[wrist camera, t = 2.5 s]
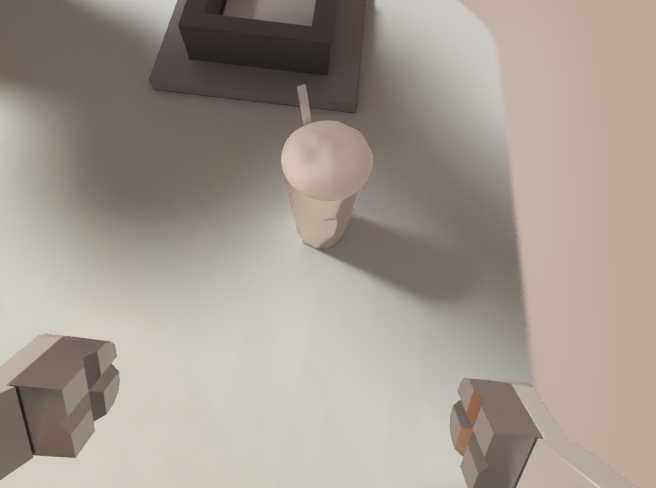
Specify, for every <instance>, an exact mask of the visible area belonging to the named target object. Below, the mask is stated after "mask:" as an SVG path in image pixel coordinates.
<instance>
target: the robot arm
mask: <svg viewBox="0 0 656 488" xmlns="http://www.w3.org/2000/svg"><path fill="white" fill-rule="evenodd" d="M116 357H117V354H116V348H115V344H113V343H112V342H110V341H103V340H95V339H87V338H79V337H71V336H60V335H52V334H43V335H39V336H37V337H36V338H35V339H34V340H32V341H31V342H30V343H29V344H27V345H26V346H25V347H24V348H23V349H21V350H20V351H19V352H18V353H17V354H15V355H14V356H13V357H12V358H10V359H9V360H8V361H7V362H6V363H4V364H3V365H2V366H1V367H0V480H1V479H3V478H4V477H5V476H7V475H8V474H10V473H11V472H13V471H14V470H16V469H17V468H19V467H20V466H21V465H23V464H24V463H26V462H27V461H29V460H30V459H32V458H33V455H39V456H54V457H70V458H76V457H77V455H78V454H79V452H80V451H81V450H82V448H83V447H84V445H85V444H86V443H87V441H88V440H89V438H90V437H91V436H92V434H93V433H94V431H95V429H94V421H96V420H97V419H99V418H101V417H103V416H104V415H106V414H107V413H108V411H109V410H110V408H111V407H112V405H113V404H114V401H115V399H116V396H117V393H118V391H119V382H120V378H119V371H118V370H117V369H116V368H115V367H114V366H113V365H112V364H111V363H112V362H113V361H114V359H115V358H116ZM458 393H459V396H460V398H461V400H460V401H458V402H457V403H456V404H454V405H453V408H452V412H451V415H450V433H451V439H452V442H453V445H454V448H455V449H456V450H457V451H458V452H459V453H460V454H461V455H462V456H463V460H462V463H461V466H460V467H461V470H462V473H463V476H464V478H465V481H466V484H467V487H468V488H639V487H637V486H636V485H635V484H633V483H632V482H631V481H629V480H628V479H627V478H625V477H624V476H622V475H621V474H620V473H618V472H617V471H615V470H614V469H613V468H611V467H610V466H609V465H607V464H606V463H604V462H603V461H602V460H600V459H599V458H598V457H596V456H595V455H593V454H592V453H591V452H589V451H588V450H586V449H585V448H584V447H582V446H581V445H580V444H578V443H577V442H570V441H569V440H568V438H567V437H566V436H565V434H564V432H563V431H562V429H561V428H560V426H559V425H558V423H557V422H556V420H555V419H554V418H553V416H552V414H551V413H550V411H549V410H548V408H547V407H546V406H545V404H544V402H543V401H542V399H541V398H540V396H539V395H538V393H537V392H536V390H535V389H534V387H533V386H531V385H530V384H528V383H519V382H501V381H491V380H480V379H470V378H464V379H463V380H462V381H461V382H460V385H459V388H458Z"/></svg>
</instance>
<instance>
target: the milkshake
mask: <svg viewBox="0 0 656 488" xmlns="http://www.w3.org/2000/svg"><path fill="white" fill-rule="evenodd" d="M297 91H298V97H299V103H300V108H301V114H302V119H303V125H304V126H302V127H300V128H299V129H297V130H296V131H294V132H293V133H292V134H291V135H290V136H289V137H288V139H287V141H286V142H285V145H284V147H283V150H282V155H281V164H282V169H283V173H284V177H285V180H286V184H287V188H288V192H289V196H290V201H291V206H292V210H293V215H294V220H295V225H296V229H297V231H298V233H299V235H300V237H301V239H302V241H303V242H304V243H306V244H308V245H310V246H312V247H314V248H324V247H331V246H332V245H333V244H334V243H336V242H337V241H338V240H339V239H340V238H341V237H342V235H343V233H344V230H345V228H346V226H347V223H348V221H349V219H350V216H351V214H352V212H353V209H354V207H355V205H356V203H357V200H358V198H359V196H360V194H361V192H362V190H363V188H364V186H365V184H366V182H367V180H368V178H369V176H370V174H371V171H372V167H373V155H372V152H371V149H370V147H369V145H368V143H367V141H366V140H365V138H364V136H363V135H362V134H361V133H360V132H359V131H358V130H356V129H354V128H352V127H350V126H347V125H345V124H343V123H341V122H338V121H334V120H324V121H317V122H312V120H311V113H310V107H309V101H308V95H307V89H306V85H305V84H303V85H300V86H298V87H297Z"/></svg>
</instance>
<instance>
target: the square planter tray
mask: <svg viewBox="0 0 656 488" xmlns="http://www.w3.org/2000/svg"><path fill="white" fill-rule="evenodd" d="M364 5H365V0H178V1H177V4H176V6H175V9H174V12H173V15H172V17H171V20H170V23H169V26H168V28H167V31H166V34H165V37H164V40H163V42H162V45H161V48H160V51H159V53H158V56H157V59H156V62H155V64H154V67H153V70H152V73H151V76H150V78H149V80H150V83H151V85H152V87H153V89H154V90H163V91H172V92H180V93H189V94H197V95H206V96H215V97H223V98H232V99H241V100H249V101H258V102H266V103H275V104H284V105H292V106H300V103H299V97H298V91H297V87H298V86H300V85H303V84H305V85H306V89H307V95H308V101H309V107H310V108H318V109H327V110H335V111H344V112H353V113H355V111H356V106H357V95H358V82H359V70H360V57H361V44H362V31H363V18H364Z"/></svg>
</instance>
